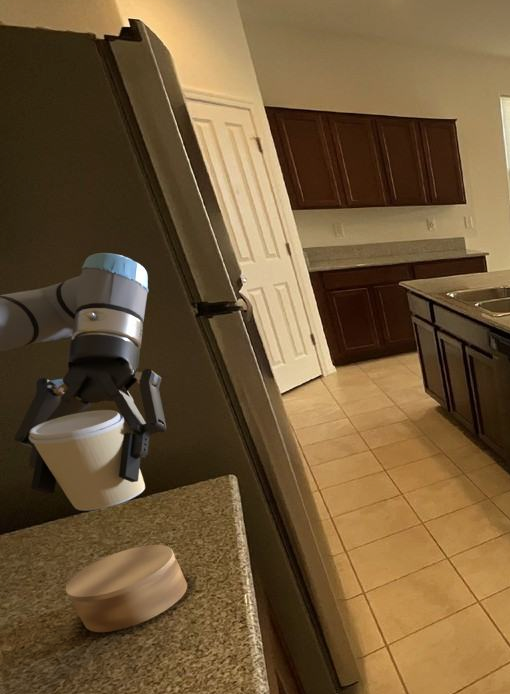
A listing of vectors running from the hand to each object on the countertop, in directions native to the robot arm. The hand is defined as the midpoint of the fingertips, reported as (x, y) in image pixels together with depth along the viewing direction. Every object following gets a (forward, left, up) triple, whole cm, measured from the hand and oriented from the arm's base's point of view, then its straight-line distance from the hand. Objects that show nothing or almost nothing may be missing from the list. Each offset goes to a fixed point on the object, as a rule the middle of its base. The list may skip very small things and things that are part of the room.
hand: (86, 484), depth 72 cm
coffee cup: (0, +3, -4) cm, 5 cm away
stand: (+3, -6, -17) cm, 18 cm away
